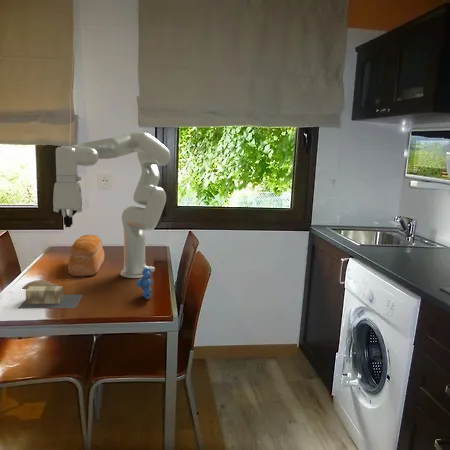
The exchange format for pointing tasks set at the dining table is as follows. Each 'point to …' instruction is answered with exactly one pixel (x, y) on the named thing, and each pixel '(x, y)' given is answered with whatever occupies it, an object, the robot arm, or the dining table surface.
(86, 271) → the bread
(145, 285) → the grapes
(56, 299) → the birch block
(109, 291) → the dining table surface
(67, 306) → the rubber mat
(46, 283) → the clay tablet
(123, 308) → the dining table surface
